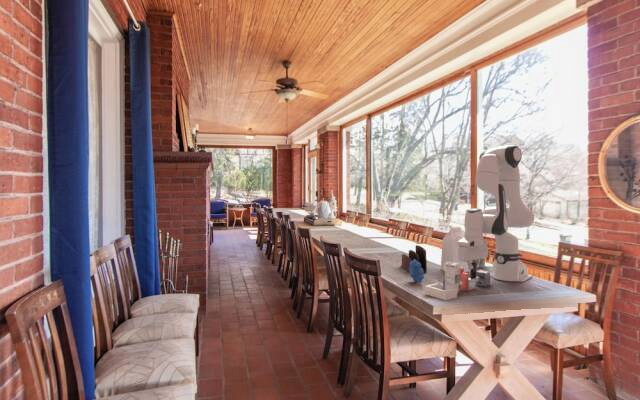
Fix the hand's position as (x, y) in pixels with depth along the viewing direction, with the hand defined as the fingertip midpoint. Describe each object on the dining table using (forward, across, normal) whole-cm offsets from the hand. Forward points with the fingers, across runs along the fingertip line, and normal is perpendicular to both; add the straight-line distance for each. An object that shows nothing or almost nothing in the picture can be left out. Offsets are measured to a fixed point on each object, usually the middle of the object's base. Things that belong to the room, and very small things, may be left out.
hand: (473, 268), depth 204 cm
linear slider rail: (+9, -2, 0) cm, 9 cm away
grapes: (+10, +16, -24) cm, 30 cm away
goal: (+10, +24, 0) cm, 26 cm away
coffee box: (+10, -46, -30) cm, 56 cm away
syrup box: (+10, +17, 0) cm, 20 cm away
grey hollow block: (+10, -8, 0) cm, 12 cm away
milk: (+10, -25, -30) cm, 40 cm away
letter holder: (+10, -7, -46) cm, 48 cm away
